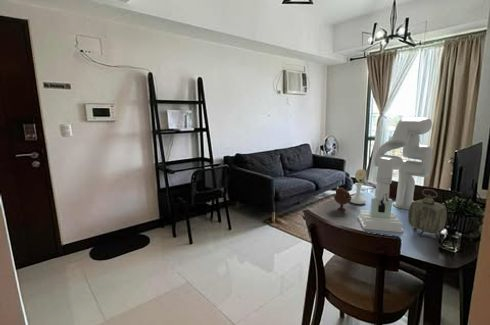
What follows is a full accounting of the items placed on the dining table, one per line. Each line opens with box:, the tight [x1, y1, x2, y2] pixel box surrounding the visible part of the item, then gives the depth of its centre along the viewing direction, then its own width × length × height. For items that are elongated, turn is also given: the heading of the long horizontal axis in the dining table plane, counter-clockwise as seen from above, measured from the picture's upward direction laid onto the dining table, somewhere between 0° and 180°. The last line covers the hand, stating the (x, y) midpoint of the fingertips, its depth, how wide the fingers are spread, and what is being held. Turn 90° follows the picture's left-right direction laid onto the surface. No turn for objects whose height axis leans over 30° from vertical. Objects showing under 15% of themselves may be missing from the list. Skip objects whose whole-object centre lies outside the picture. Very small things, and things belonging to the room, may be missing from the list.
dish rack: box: [357, 209, 404, 233], centre depth 149 cm, size 20×15×5 cm
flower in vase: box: [349, 168, 367, 205], centre depth 182 cm, size 13×11×25 cm
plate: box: [369, 197, 393, 219], centre depth 147 cm, size 10×2×12 cm, turn 77°
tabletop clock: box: [407, 188, 448, 239], centre depth 134 cm, size 14×9×25 cm, turn 33°
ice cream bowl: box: [333, 187, 352, 213], centre depth 170 cm, size 11×11×15 cm
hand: (380, 211), depth 148 cm, fingers closed on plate, 2 cm apart
